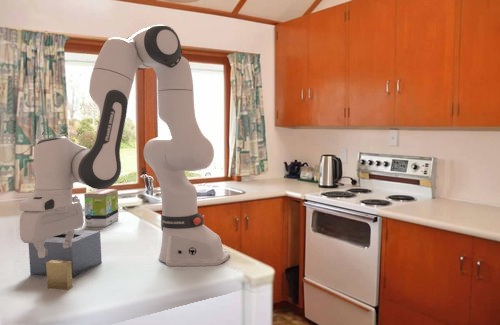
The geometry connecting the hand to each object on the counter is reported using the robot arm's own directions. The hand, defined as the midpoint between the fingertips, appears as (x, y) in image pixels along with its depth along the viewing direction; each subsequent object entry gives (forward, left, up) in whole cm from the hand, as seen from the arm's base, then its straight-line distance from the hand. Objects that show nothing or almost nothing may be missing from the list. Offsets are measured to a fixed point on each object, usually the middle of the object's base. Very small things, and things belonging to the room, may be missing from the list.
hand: (55, 252), depth 108 cm
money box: (+8, -15, -10) cm, 19 cm away
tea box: (+33, -74, -10) cm, 81 cm away
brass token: (0, -1, -10) cm, 10 cm away
